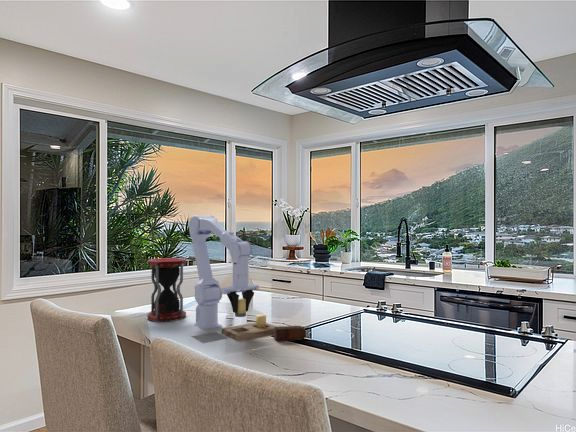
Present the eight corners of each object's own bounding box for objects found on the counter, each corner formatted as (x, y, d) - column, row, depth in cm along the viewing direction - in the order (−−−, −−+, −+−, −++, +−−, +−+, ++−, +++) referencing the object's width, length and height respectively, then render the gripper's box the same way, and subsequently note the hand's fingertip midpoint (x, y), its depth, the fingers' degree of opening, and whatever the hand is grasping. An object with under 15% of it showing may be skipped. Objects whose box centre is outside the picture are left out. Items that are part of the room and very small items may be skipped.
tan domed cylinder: (253, 331, 157) (253, 315, 157) (262, 329, 159) (262, 314, 160) (259, 333, 154) (259, 317, 154) (268, 331, 156) (268, 315, 156)
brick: (276, 343, 143) (276, 329, 143) (273, 339, 146) (273, 326, 147) (305, 340, 146) (305, 327, 146) (302, 337, 149) (302, 324, 149)
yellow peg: (232, 315, 152) (232, 299, 152) (242, 314, 154) (242, 297, 154) (238, 317, 149) (238, 300, 149) (248, 315, 151) (248, 299, 151)
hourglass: (139, 320, 174) (139, 260, 174) (161, 312, 189) (161, 257, 189) (172, 323, 169) (172, 261, 169) (193, 314, 184) (193, 258, 184)
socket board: (221, 333, 153) (221, 328, 153) (262, 326, 164) (262, 321, 164) (237, 341, 144) (237, 335, 144) (279, 333, 155) (279, 327, 155)
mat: (190, 337, 149) (190, 336, 149) (216, 332, 155) (216, 331, 155) (202, 343, 141) (202, 343, 141) (228, 338, 147) (228, 338, 147)
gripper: (228, 277, 144) (228, 316, 144) (263, 274, 153) (263, 311, 152) (218, 275, 150) (218, 312, 149) (253, 272, 158) (252, 307, 158)
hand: (240, 311), depth 151 cm, fingers closed on yellow peg, 4 cm apart
